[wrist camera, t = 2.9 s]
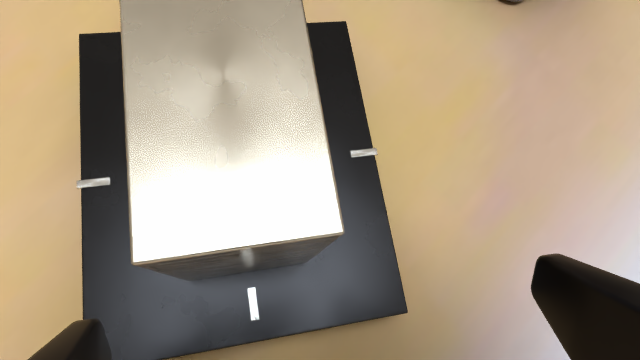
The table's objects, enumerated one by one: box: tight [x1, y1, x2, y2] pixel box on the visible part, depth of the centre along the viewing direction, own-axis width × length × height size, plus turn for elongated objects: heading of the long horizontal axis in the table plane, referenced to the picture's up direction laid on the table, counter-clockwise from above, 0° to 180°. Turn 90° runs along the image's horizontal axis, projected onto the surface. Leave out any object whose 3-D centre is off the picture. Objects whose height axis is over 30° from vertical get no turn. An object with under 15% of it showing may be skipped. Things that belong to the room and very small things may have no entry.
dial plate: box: [77, 21, 408, 360], centre depth 21 cm, size 16×14×3 cm
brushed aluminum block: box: [120, 0, 344, 281], centre depth 16 cm, size 10×5×9 cm, turn 10°
